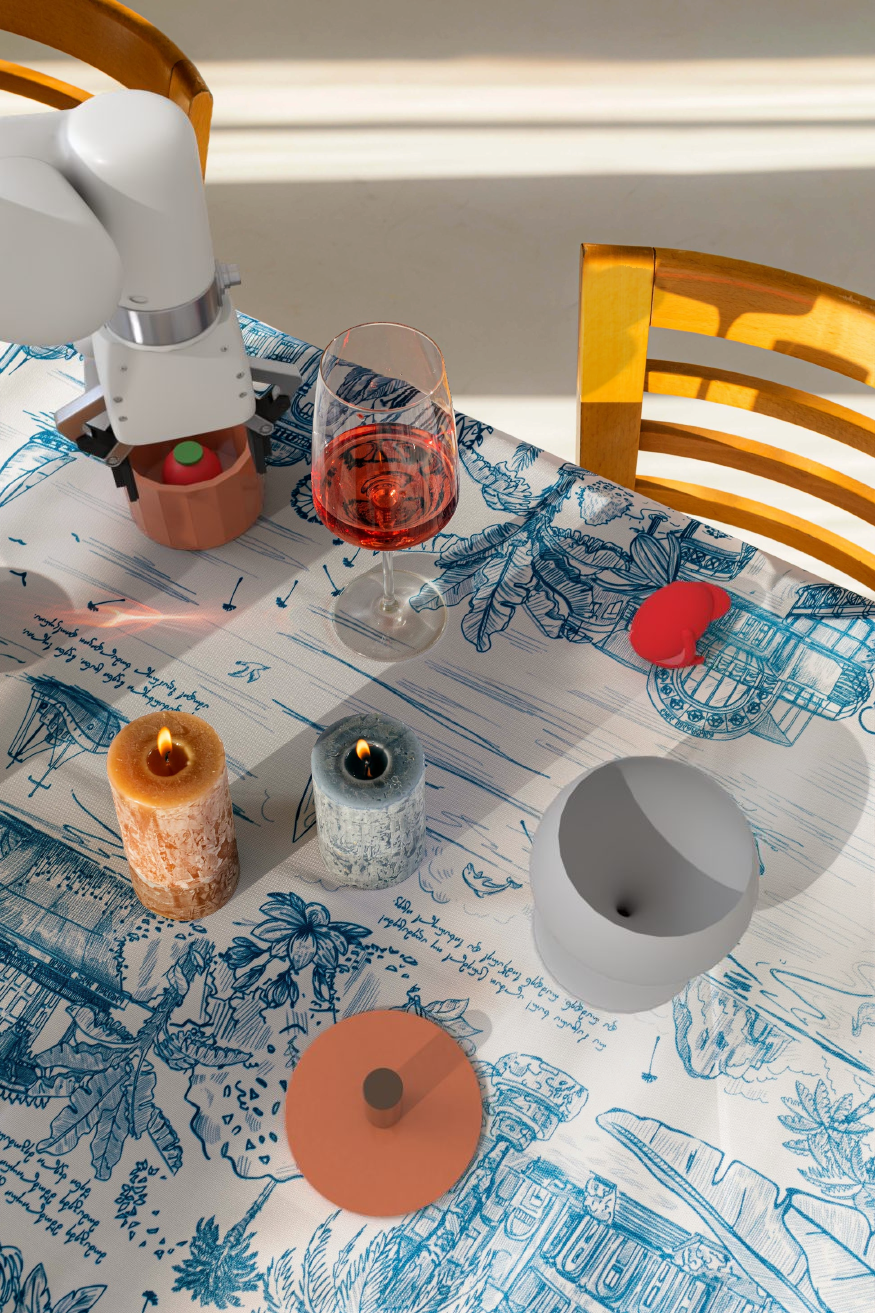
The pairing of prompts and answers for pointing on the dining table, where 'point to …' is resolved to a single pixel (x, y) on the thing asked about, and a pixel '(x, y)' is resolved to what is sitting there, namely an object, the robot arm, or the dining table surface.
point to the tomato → (190, 465)
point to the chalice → (639, 882)
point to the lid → (383, 1113)
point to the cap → (676, 622)
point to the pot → (197, 493)
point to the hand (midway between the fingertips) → (195, 474)
